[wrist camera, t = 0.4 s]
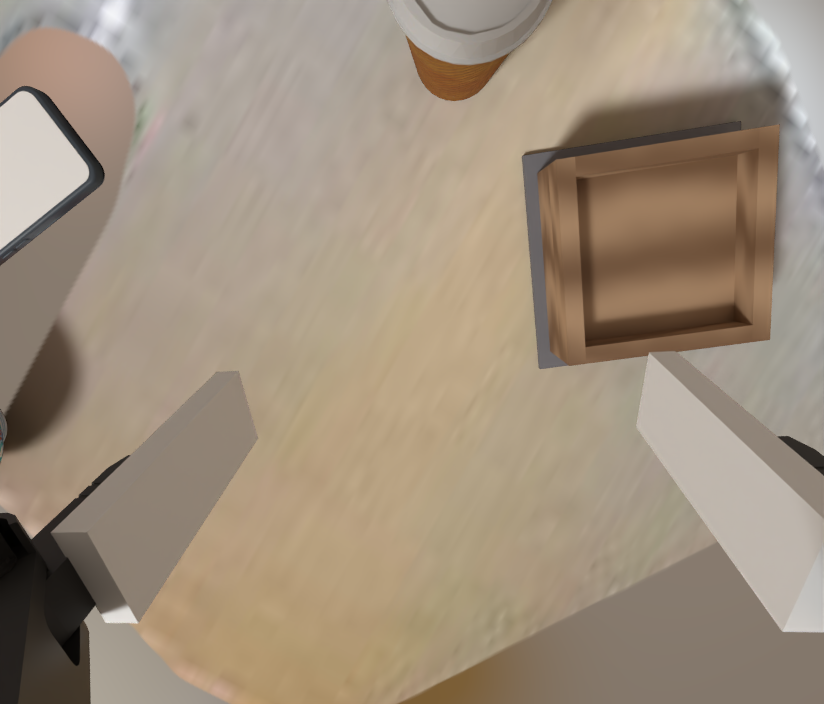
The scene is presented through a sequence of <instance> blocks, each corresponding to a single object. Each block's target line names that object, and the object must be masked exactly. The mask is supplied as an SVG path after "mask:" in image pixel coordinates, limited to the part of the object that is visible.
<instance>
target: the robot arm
mask: <svg viewBox="0 0 824 704" xmlns="http://www.w3.org/2000/svg"><path fill="white" fill-rule="evenodd" d="M636 427H637V429H638V430H639V432H640V433H641V434H642V436H643V437H644V439H645V440H646V441H647V443H648V444H649V446H650V447H651V448H652V450H653V451H654V453H655V454H656V455H657V457H658V458H659V460H660V461H661V462H662V464H663V465H664V467H665V468H666V469H667V471H668V472H669V474H670V475H671V476H672V478H673V479H674V481H675V482H676V483H677V485H678V486H679V488H680V489H681V490H682V492H683V493H684V495H685V496H686V497H687V499H688V500H689V502H690V503H691V504H692V506H693V507H694V509H695V510H696V511H697V513H698V514H699V516H700V517H701V518H702V520H703V521H704V523H705V524H706V525H707V527H708V528H709V530H710V531H711V532H712V534H713V535H714V537H715V538H716V539H717V541H718V542H719V544H720V545H721V546H722V548H723V549H724V551H725V552H726V553H727V555H728V556H729V557H730V559H731V560H732V562H733V563H734V565H735V566H736V567H737V569H738V570H739V571H740V573H741V574H742V576H743V577H744V578H745V580H746V581H747V583H748V584H749V586H750V587H751V588H752V590H753V591H754V593H755V594H756V595H757V597H758V598H759V599H760V601H761V602H762V604H763V605H764V606H765V608H766V609H767V611H768V612H769V614H770V615H771V616H772V618H773V619H774V621H775V622H776V623H777V625H778V626H779V628H780V629H781V630H782V631H783V632H824V456H823V455H821V454H820V453H819V452H818V451H816V450H815V449H813V448H811V447H809V446H807V445H805V444H803V443H801V442H799V441H797V440H795V439H793V438H791V437H789V436H778V437H777V436H776V435H775V434H773V433H772V432H771V431H770V430H769V429H768V428H766V427H765V426H764V425H763V424H762V423H760V422H759V421H758V420H757V419H756V418H754V417H753V416H752V415H751V414H750V413H748V412H747V411H746V410H745V409H744V408H743V407H741V406H740V405H739V404H738V403H737V402H735V401H734V400H733V399H732V398H731V397H729V396H728V395H727V394H726V393H725V392H723V391H722V390H721V389H720V388H719V387H718V386H716V385H715V384H714V383H713V382H712V381H710V380H709V379H708V378H707V377H706V376H704V375H703V374H702V373H701V372H700V371H699V370H697V369H696V368H695V367H694V366H693V365H691V364H690V363H689V362H688V361H687V360H685V359H684V358H683V357H682V356H681V355H679V354H678V353H677V352H676V351H666V352H649V355H648V361H647V367H646V373H645V379H644V384H643V390H642V396H641V402H640V408H639V414H638V420H637V425H636ZM257 439H258V436H257V433H256V430H255V426H254V423H253V419H252V416H251V412H250V409H249V405H248V402H247V399H246V395H245V392H244V388H243V385H242V381H241V378H240V374H239V371H229V372H216V373H215V374H214V375H213V376H212V377H211V378H210V379H209V380H208V381H207V382H206V383H205V384H204V385H203V386H202V387H201V388H200V389H199V390H198V391H197V392H196V393H195V394H194V395H192V396H191V397H190V398H189V399H188V400H187V401H186V402H185V403H184V404H183V405H182V406H181V407H180V408H179V409H178V410H177V411H176V412H175V413H174V414H173V415H172V416H171V417H170V418H169V419H168V420H167V421H166V422H165V423H164V424H162V425H161V426H160V427H159V428H158V429H157V430H156V431H155V432H154V433H153V434H152V435H151V436H150V437H149V438H148V439H147V440H146V441H145V442H144V443H143V444H142V445H141V446H140V447H139V448H138V449H137V450H136V451H135V452H133V453H132V454H131V455H128V456H126V457H125V458H123V459H121V460H120V461H118V462H117V463H115V464H113V465H112V466H110V467H109V468H107V469H106V470H105V471H104V472H103V473H102V474H101V475H100V476H99V477H98V478H97V479H95V480H94V481H93V482H92V485H91V486H88V487H87V488H86V489H85V490H84V491H83V492H82V493H81V494H79V498H75V499H74V500H73V501H72V502H71V503H70V504H69V505H68V506H67V507H66V508H65V509H63V510H62V511H61V512H60V513H59V514H58V515H57V516H56V517H55V518H54V519H53V520H52V521H51V522H50V523H49V524H47V525H46V526H45V527H44V528H43V529H42V530H41V531H40V532H39V533H38V534H37V535H36V536H35V537H34V538H33V539H30V537H29V536H28V534H27V533H26V531H25V530H24V528H23V527H22V525H21V524H20V522H19V520H18V519H17V517H16V516H15V515H13V514H10V513H0V704H90V658H89V656H90V655H89V631H88V628H87V626H86V624H85V622H84V621H83V620H84V619H85V618H86V617H87V615H88V614H89V613H90V611H91V610H92V609H93V607H94V606H96V607H97V609H98V610H99V612H100V613H101V615H102V617H103V618H104V620H105V622H106V623H139V621H140V620H141V618H142V617H143V615H144V614H145V612H146V611H147V609H148V608H149V606H150V604H151V603H152V601H153V600H154V598H155V597H156V595H157V594H158V592H159V591H160V589H161V587H162V586H163V584H164V583H165V581H166V580H167V578H168V577H169V575H170V574H171V572H172V570H173V569H174V567H175V566H176V564H177V563H178V561H179V560H180V558H181V557H182V555H183V553H184V552H185V550H186V549H187V547H188V546H189V544H190V543H191V541H192V540H193V538H194V536H195V535H196V533H197V532H198V530H199V529H200V527H201V526H202V524H203V523H204V521H205V520H206V518H207V516H208V515H209V513H210V512H211V510H212V509H213V507H214V506H215V504H216V503H217V501H218V499H219V498H220V496H221V495H222V493H223V492H224V490H225V489H226V487H227V486H228V484H229V482H230V481H231V479H232V478H233V476H234V475H235V473H236V472H237V470H238V469H239V467H240V465H241V464H242V462H243V461H244V459H245V458H246V456H247V455H248V453H249V452H250V450H251V448H252V447H253V445H254V444H255V442H256V441H257Z"/></svg>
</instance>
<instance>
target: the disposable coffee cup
mask: <svg viewBox="0 0 824 704" xmlns="http://www.w3.org/2000/svg"><path fill="white" fill-rule="evenodd" d="M387 1H388V4H389V6H390V9H391V11H392V13H393V15H394V17H395V19H396V22H397V23H398V25H399V26H400V27H401V29H402V30H403V32H404V33H405V35H406V38H407V41H408V44H409V47H410V50H411V53H412V56H413V59H414V62H415V65H416V68H417V72H418V75H419V77H420V79H421V81H422V83H423V84H424V85H425V87H426V88H427V89H428V90H429V91H430V92H431V93H432V94H434V95H436V96H437V97H439V98H442V99H445V100H450V101H457V100H464V99H467V98H470V97H471V96H473V95H475V94H477V93H478V92H479V91H480V90H481V89H482V88H483V87H484V86H485V85H486V83H487V82H488V81H489V79H490V78H491V76H492V75H493V74H494V72H495V71H496V70H497V69H498V67H499V66H500V65H501V63H502V62H503V61H504V59H505V58H506V57H507V55H508V54H509V53H510V52H511V51H513V50H514V49H515V48H517V47H518V46H519V45H521V44H522V43H523V42H524V41H525V40H526V39H527V38H528V37H529V36H530V35H531V34H532V33H533V31H534V30H535V29H536V28H537V26H538V25H539V24H540V22H541V21H542V20H543V18H544V16H545V14H546V12H547V10H548V8H549V6H550V4H551V2H552V0H387Z"/></svg>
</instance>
